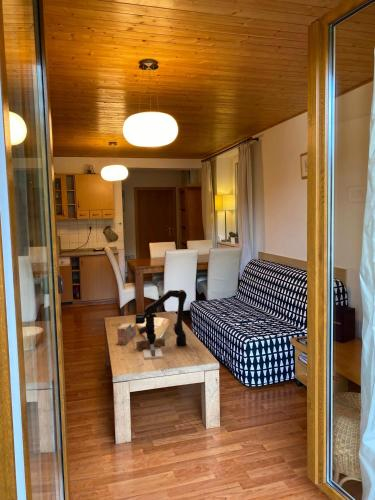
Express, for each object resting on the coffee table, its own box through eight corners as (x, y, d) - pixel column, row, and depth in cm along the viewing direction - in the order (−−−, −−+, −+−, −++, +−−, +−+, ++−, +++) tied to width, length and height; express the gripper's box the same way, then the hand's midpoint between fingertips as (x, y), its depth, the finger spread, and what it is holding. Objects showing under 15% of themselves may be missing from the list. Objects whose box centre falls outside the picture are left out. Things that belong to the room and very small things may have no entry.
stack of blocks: (128, 335, 308) (127, 319, 307) (136, 335, 307) (135, 320, 306) (117, 344, 288) (117, 328, 286) (126, 345, 286) (125, 328, 285)
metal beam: (163, 344, 287) (162, 337, 287) (164, 345, 284) (164, 339, 283) (136, 348, 279) (136, 341, 279) (138, 350, 275) (137, 343, 275)
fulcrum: (160, 350, 273) (160, 342, 273) (162, 358, 260) (162, 349, 259) (143, 351, 271) (142, 344, 271) (144, 359, 258) (144, 351, 257)
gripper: (138, 320, 287) (138, 340, 289) (139, 327, 269) (140, 349, 271) (153, 319, 289) (153, 339, 291) (155, 326, 271) (156, 348, 272)
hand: (150, 344), depth 281 cm, fingers open, 9 cm apart
